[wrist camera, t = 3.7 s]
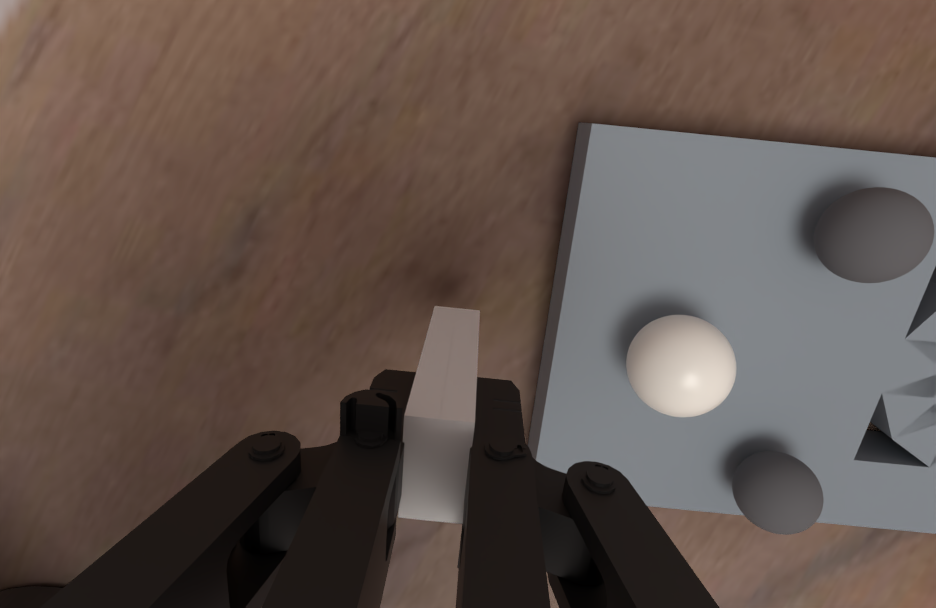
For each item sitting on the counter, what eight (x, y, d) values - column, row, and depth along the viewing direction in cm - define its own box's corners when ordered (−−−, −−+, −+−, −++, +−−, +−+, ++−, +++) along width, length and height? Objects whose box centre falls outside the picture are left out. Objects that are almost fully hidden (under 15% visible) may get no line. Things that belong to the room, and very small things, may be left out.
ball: (607, 380, 20) (632, 433, 17) (625, 296, 19) (655, 334, 16) (697, 389, 20) (739, 443, 17) (721, 305, 19) (771, 345, 16)
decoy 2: (783, 264, 18) (838, 291, 15) (810, 177, 17) (874, 189, 14) (867, 272, 18) (937, 300, 15) (899, 186, 17) (981, 200, 14)
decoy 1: (710, 492, 22) (744, 548, 19) (730, 432, 21) (769, 482, 18) (781, 499, 22) (825, 556, 19) (804, 439, 21) (855, 490, 18)
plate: (525, 458, 24) (530, 494, 22) (578, 122, 19) (592, 123, 17) (1029, 506, 24) (1087, 548, 22) (1217, 185, 19) (1318, 195, 17)
